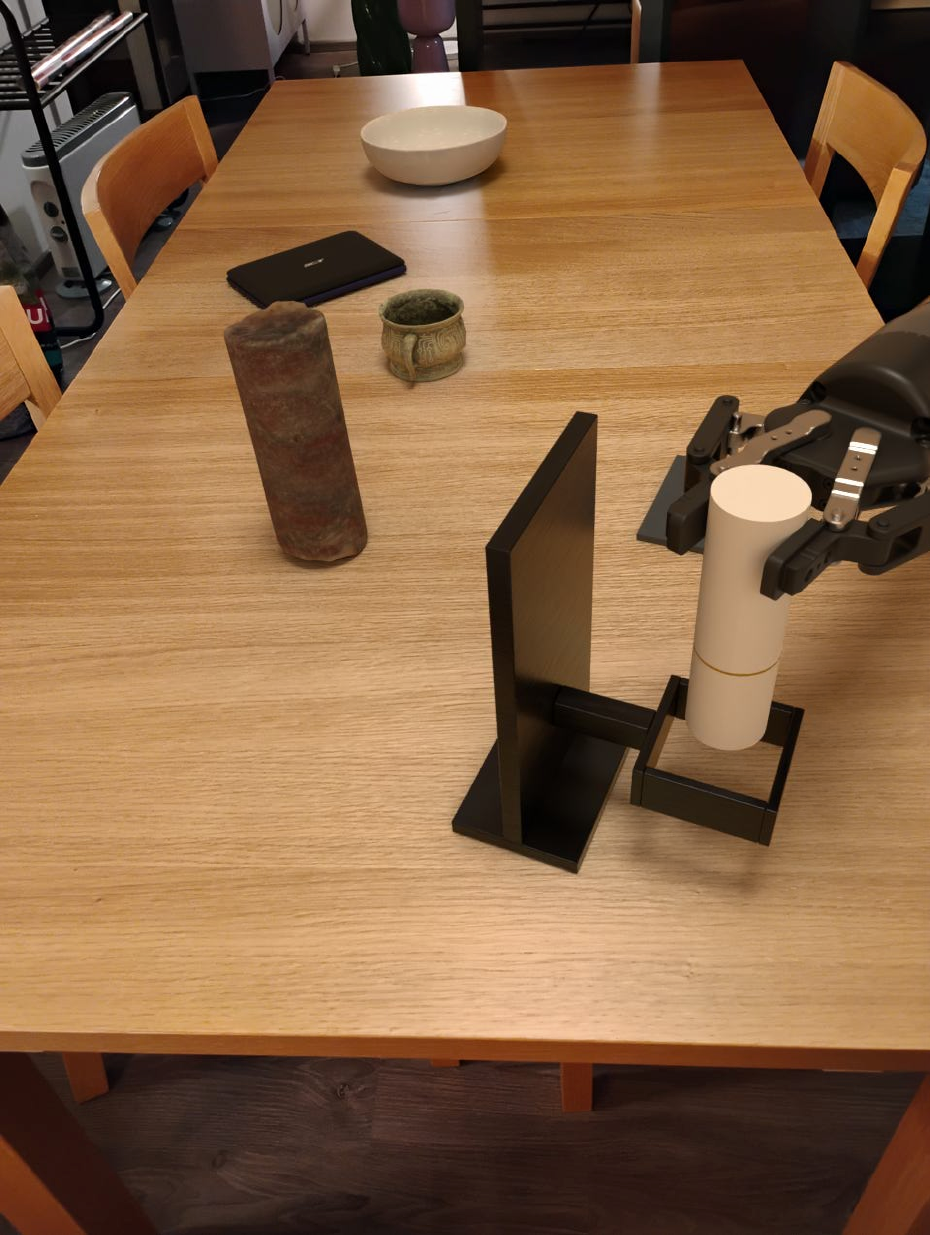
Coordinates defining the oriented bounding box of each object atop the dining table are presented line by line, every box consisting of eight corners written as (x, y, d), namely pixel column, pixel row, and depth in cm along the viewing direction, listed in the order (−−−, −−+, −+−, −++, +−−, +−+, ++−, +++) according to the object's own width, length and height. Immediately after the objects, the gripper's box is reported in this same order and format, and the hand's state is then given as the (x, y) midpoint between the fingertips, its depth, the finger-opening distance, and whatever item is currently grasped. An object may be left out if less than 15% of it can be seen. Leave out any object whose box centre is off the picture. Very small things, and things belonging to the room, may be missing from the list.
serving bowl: (538, 166, 145) (537, 115, 140) (441, 213, 134) (437, 160, 129) (433, 143, 156) (429, 95, 151) (336, 184, 145) (328, 134, 140)
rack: (790, 770, 62) (868, 460, 46) (747, 932, 54) (823, 624, 39) (525, 695, 68) (515, 399, 53) (452, 831, 60) (415, 530, 45)
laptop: (419, 282, 118) (417, 265, 117) (258, 325, 113) (254, 308, 111) (369, 238, 129) (367, 222, 128) (220, 275, 123) (216, 260, 122)
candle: (292, 582, 79) (236, 351, 65) (265, 533, 84) (208, 308, 70) (381, 552, 81) (345, 322, 67) (350, 505, 86) (311, 282, 72)
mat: (816, 485, 84) (817, 479, 83) (788, 572, 76) (789, 566, 75) (676, 460, 88) (677, 454, 87) (636, 539, 80) (636, 533, 79)
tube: (760, 758, 52) (805, 528, 42) (677, 740, 53) (702, 513, 43) (771, 699, 55) (816, 472, 44) (693, 684, 56) (719, 459, 46)
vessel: (454, 395, 98) (449, 336, 94) (369, 390, 100) (360, 332, 96) (479, 338, 107) (476, 282, 103) (401, 334, 109) (394, 279, 104)
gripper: (794, 295, 53) (593, 432, 45) (1073, 374, 46) (893, 558, 37) (775, 416, 58) (591, 560, 50) (1023, 506, 51) (854, 695, 42)
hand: (721, 558), depth 44 cm, fingers closed on tube, 4 cm apart
